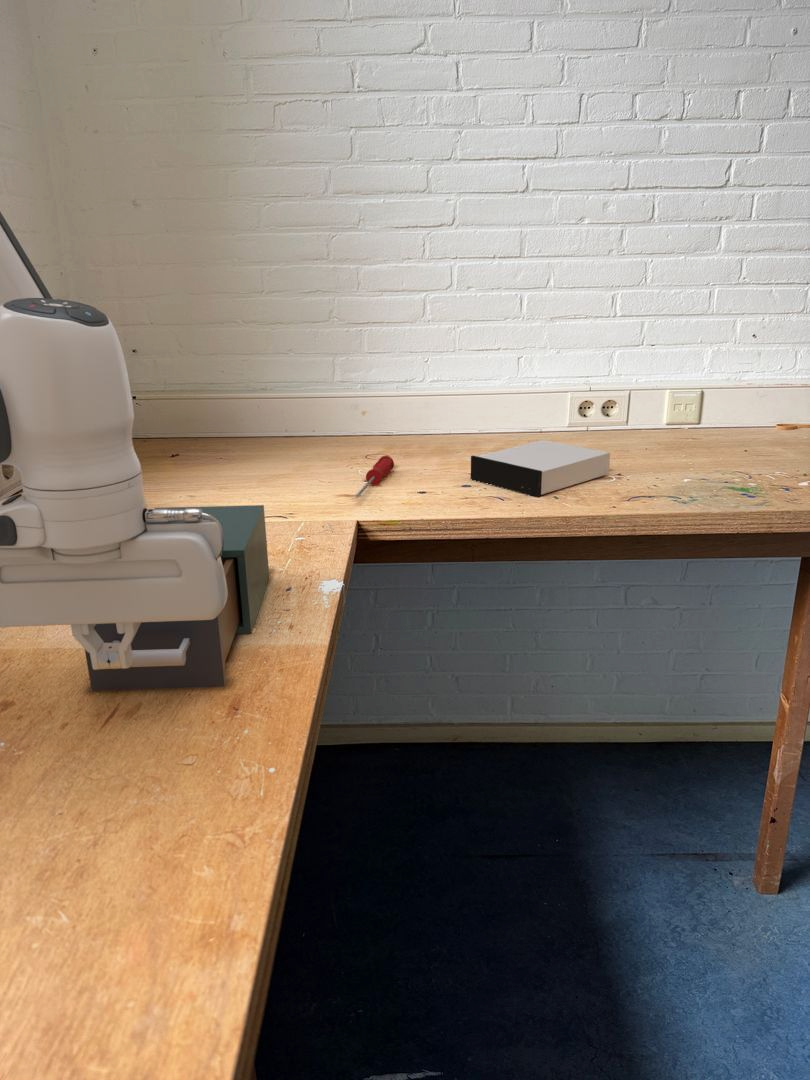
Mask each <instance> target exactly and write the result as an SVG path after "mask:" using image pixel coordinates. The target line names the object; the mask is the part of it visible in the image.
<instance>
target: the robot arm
mask: <svg viewBox="0 0 810 1080" xmlns="http://www.w3.org/2000/svg"><path fill="white" fill-rule="evenodd" d="M122 348H123V347H122V344H121V341H120V339H119V336H118V333H117V331H116V328H115V326H114V325H113V322H112V321H111V320H110V318H109V317H108V316H107V315H106V314H105V313H104V312H102V311H100V310H99V309H98V308H96V307H94V306H91V305H89V304H87V303H84V302H78V301H74V300H67V299H60V298H57V299H55V298H53V297H52V295H51V293H50V292H49V290H48V288H47V287H46V285H45V283H44V282H43V280H42V278H41V277H40V275H39V274H38V271H37V270H36V268H35V266H34V265H33V263H32V261H31V260H30V258H29V256H28V254H27V253H26V252H25V250H24V248H23V247H22V245H21V243H20V242H19V240H18V238H17V236H16V235H15V233H14V231H13V230H12V228H11V226H10V225H9V223H8V222H7V220H6V219H5V217H4V214H3V213H2V212H1V211H0V466H1V465H5V466H6V465H9V466H11V467H14V468H16V470H17V471H18V472H19V474H20V481H21V488H22V492H19V493H18V494H14V495H12V496H8V497H6V498H3V499H1V500H0V628H17V627H45V626H46V627H47V626H70V629H71V633H72V635H71V636H72V637H74V639H75V640H76V641H77V642H78V643H79V645H80V646H82V648H83V649H84V651H85V650H86V651H87V652H88V653H90V657H91V663H92V668H93V669H94V670H99V669H122V668H129V667H130V665H131V663H132V660H133V656H132V649H131V642H132V641H133V639H134V636H135V634H136V632H137V630H138V628H139V626H140V624H141V622H163V621H192V620H212V619H214V618H216V617H217V616H218V614H219V613H220V612H221V611H222V609H223V608H224V606H225V604H226V601H227V597H228V590H227V583H226V578H225V573H224V568H223V564H222V560H221V557H220V556H221V554H222V552H223V549H224V541H223V532H222V527H221V525H220V523H219V522H218V520H217V519H216V518H214V517H213V516H212V515H210V514H207V513H202V510H201V509H198V508H186V509H184V510H174V509H173V510H172V509H155V508H148V507H147V501H146V493H145V486H144V485H145V484H144V477H143V472H142V465H141V462H140V459H139V457H138V455H137V453H136V450H135V447H134V442H133V428H134V422H135V411H134V403H133V397H132V391H131V385H130V379H129V373H128V368H127V364H126V359H125V354H124V352H123V351H124V350H123V349H122ZM203 518H206V519H208V520H202V519H203ZM106 623H116V627H117V633H119V634H123V633H124V632H125V635H124V637H123V639H122V641H121V642H117V643H104V642H103V640H102V639H101V638H100V636H99V635H98V634H97V632H96V631H95V630H94V627H95V625H96V624H106Z"/></svg>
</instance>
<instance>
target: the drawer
mask: <svg viewBox="0 0 810 1080" xmlns="http://www.w3.org/2000/svg"><path fill="white" fill-rule="evenodd" d="M221 560H222V564H223V568H224V573H225V578H226V583H227V590H228V597H227V601H226V604H225V606H224V608H223V609H222V611H221V612H220V613H219V614H218V616H217V617H216V618H214V619H212V620H192V621H163V622H141V624H140V626H139V628H138V630H137V632H136V634H135V636H134V639H133V641H132V642H131V649H132V656H133V660H132V663H131V665H130V667H129V668H122V669H99V670H94V669H93V668H92V663H91V657H90V653H88V652H87V651H86V650H85V649H84V653H85V661H86V665H87V672H88V677H89V681H90V682H89V683H90V690H91V692H98V691H99V692H101V691H130V690H132V691H133V690H159V689H160V690H162V689H195V688H197V689H198V688H224V687H226V684H227V674H226V673H227V672H226V660H227V657H228V654H229V652H230V649H231V647H232V643H233V641H234V638H235V636H236V634H235V633H236V630H237V627H238V625H239V622H240V619H241V605H240V594H239V583H238V572H237V561H236V557H225V558H221ZM94 630H95V631H96V632H97V634H98V635H99V636H100V638H101V639H102V640H103V642H104V643H117V642H121V641H122V639H123V637H124V635H125V632H124V633H123V634H119V633H117V627H116V623H106V624H96V625H95V627H94Z"/></svg>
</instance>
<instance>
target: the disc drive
mask: <svg viewBox="0 0 810 1080" xmlns="http://www.w3.org/2000/svg"><path fill="white" fill-rule="evenodd" d="M610 459H611V452H609V451H604V450H598V449H593V448H588V447H582V446H577V445H572V444H566V443H561V442H556V441H550V440H545V439H541V440H538V441H534V442H529V443H525V444H520V445H518V446H512V447H509V448H504V449H501V450H497V451H493V452H492V451H491V452H488V453H485V454H480V455H471V456H470V480H471V479H472V480H471V481H473V480H476V481H475V482H477V481H480V482H479V483H481V482H484V483H483V484H485V483H488V484H487V485H489V484H492V485H491V486H493V485H495V486H494V487H497V486H499V487H498V488H501V487H503V488H502V489H505V488H507V489H506V490H509V489H511V490H510V491H513V490H515V491H514V492H516V491H519V492H518V493H520V492H522V493H521V494H524V493H526V494H525V495H528V494H530V495H529V496H532V495H534V496H533V497H536V496H538V497H537V498H541V497H542V495H545V494H548V493H551V492H552V493H553V492H554V491H559V490H562V489H564V488H568V487H570V486H575V485H578V484H580V483H585V482H587V481H590V480H594V479H597V478H601V477H603V476H606V475H609V474H610V461H611V460H610ZM540 496H541V497H540Z"/></svg>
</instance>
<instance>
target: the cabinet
mask: <svg viewBox="0 0 810 1080" xmlns="http://www.w3.org/2000/svg"><path fill="white" fill-rule="evenodd" d="M186 508H198V509H201V510H202V513H207V514H210V515H212V516H213V517H214V518H216V519H217V520H218V522H219V523H220V525H221V527H222V532H223V541H224V549H223V552H222V554H221V556H220V557H221V558H225V557H236V561H237V572H238V583H239V594H240V605H241V619H240V622H239V625H238V627H237V630H236V633H235V635H243V634H244V635H245V634H249V635H250V634H252V632H253V629H254V626H255V624H256V620H257V618H258V613H259V611H260V608H261V605H262V602H263V598H264V595H265V593H266V589H267V585H268V583H269V580H270V569H269V555H268V542H267V530H266V514H265V505H264V504H253V505H252V504H251V505H216V506H214V505H213V506H212V505H211V506H210V505H209V506H177V507H174V506H173V507H172V506H171V507H154V509H172V510H173V509H174V510H184V509H186ZM202 520H208V519H206V518H203V519H202Z"/></svg>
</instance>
